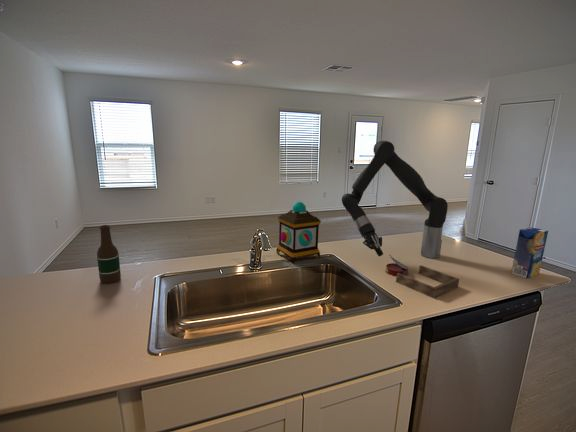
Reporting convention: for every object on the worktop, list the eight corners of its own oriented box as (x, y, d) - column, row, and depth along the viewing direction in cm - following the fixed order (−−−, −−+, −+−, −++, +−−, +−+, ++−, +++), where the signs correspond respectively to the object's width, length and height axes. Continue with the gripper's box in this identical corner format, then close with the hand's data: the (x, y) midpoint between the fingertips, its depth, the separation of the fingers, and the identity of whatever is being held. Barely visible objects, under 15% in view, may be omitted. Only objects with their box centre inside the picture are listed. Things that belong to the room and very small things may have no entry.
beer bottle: (125, 278, 131) (120, 224, 125) (109, 285, 123) (103, 229, 118) (111, 275, 133) (105, 222, 128) (95, 282, 126) (88, 226, 121)
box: (395, 281, 134) (396, 273, 133) (420, 273, 144) (421, 265, 143) (434, 298, 119) (435, 289, 119) (457, 287, 130) (459, 278, 129)
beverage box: (538, 274, 146) (548, 230, 141) (527, 278, 141) (536, 233, 136) (522, 269, 152) (531, 227, 147) (511, 273, 147) (519, 229, 142)
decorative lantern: (303, 248, 176) (305, 197, 170) (323, 259, 160) (326, 203, 153) (272, 253, 166) (273, 199, 160) (291, 265, 150) (293, 206, 143)
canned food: (389, 277, 150) (394, 258, 152) (409, 282, 143) (414, 261, 145) (379, 272, 142) (384, 252, 144) (399, 276, 135) (404, 255, 137)
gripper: (360, 223, 151) (377, 254, 144) (377, 220, 159) (394, 249, 151) (351, 231, 157) (367, 261, 149) (368, 228, 164) (384, 256, 157)
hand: (381, 255), depth 150 cm, fingers closed
